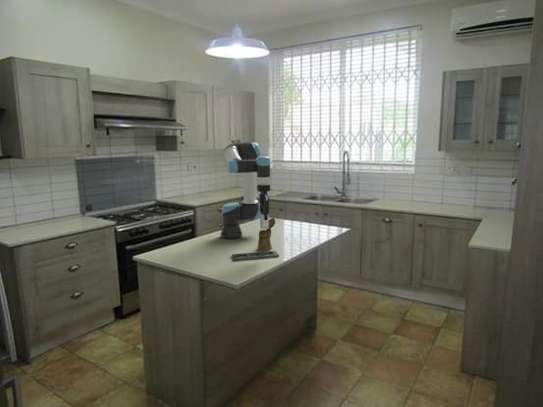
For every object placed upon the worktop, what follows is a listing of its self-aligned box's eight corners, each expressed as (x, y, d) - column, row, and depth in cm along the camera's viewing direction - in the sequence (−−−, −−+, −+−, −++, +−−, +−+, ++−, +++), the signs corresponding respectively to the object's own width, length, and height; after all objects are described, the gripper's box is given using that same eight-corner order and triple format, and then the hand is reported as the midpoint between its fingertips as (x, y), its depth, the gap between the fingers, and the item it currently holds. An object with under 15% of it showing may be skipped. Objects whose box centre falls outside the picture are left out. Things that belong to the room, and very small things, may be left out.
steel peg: (260, 227, 225) (260, 212, 223) (267, 227, 226) (266, 212, 224) (262, 229, 221) (261, 213, 219) (268, 228, 222) (268, 213, 220)
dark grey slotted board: (231, 256, 226) (231, 254, 225) (274, 252, 232) (274, 250, 232) (234, 261, 217) (233, 259, 217) (278, 256, 223) (278, 254, 223)
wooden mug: (279, 246, 244) (279, 218, 242) (265, 251, 234) (264, 222, 231) (268, 244, 250) (268, 216, 247) (254, 248, 240) (253, 220, 237)
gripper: (253, 182, 226) (254, 222, 230) (260, 186, 210) (261, 228, 214) (266, 182, 228) (267, 221, 232) (274, 185, 212) (274, 227, 216)
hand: (264, 224), depth 223 cm, fingers closed on steel peg, 4 cm apart
